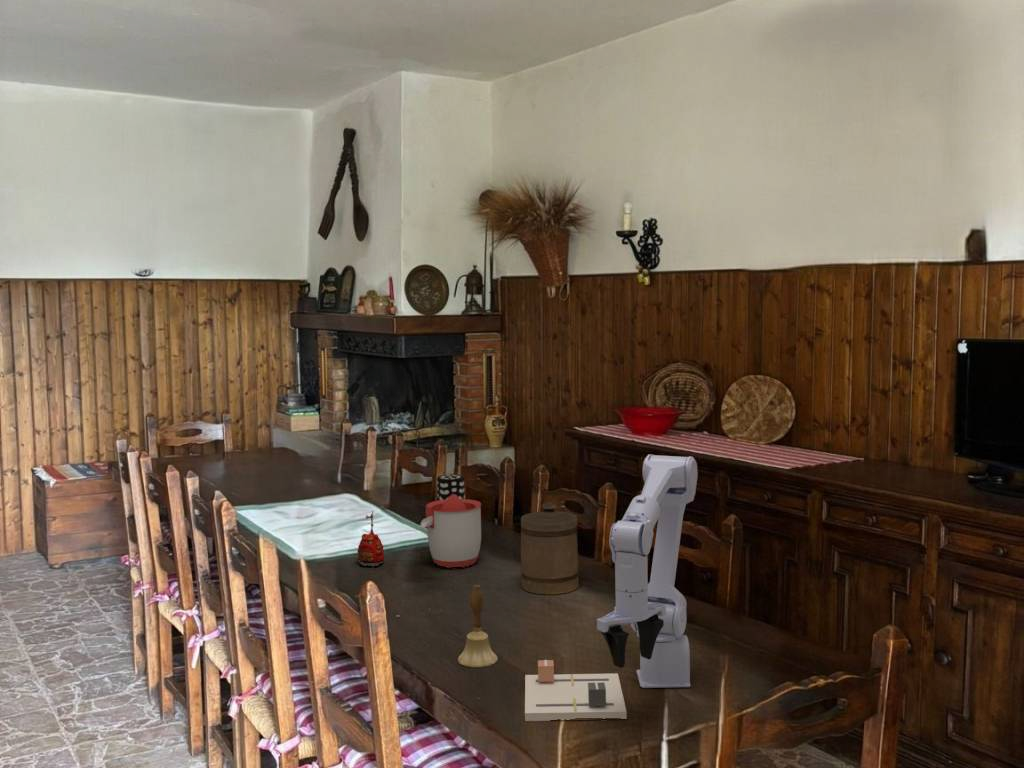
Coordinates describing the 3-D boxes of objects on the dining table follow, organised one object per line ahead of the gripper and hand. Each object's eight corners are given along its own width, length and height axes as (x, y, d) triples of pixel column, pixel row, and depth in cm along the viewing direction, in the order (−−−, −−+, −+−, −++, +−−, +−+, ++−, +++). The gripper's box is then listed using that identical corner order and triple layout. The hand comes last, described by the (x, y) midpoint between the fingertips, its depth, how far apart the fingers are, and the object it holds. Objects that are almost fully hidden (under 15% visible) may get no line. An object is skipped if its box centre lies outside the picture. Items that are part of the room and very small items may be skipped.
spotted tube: (436, 539, 298) (434, 475, 296) (462, 536, 301) (460, 473, 299) (442, 545, 290) (440, 480, 288) (469, 543, 293) (467, 478, 291)
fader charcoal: (604, 698, 175) (604, 682, 174) (605, 705, 172) (605, 688, 171) (588, 698, 175) (587, 682, 174) (589, 705, 172) (588, 689, 171)
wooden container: (579, 578, 255) (578, 496, 253) (577, 595, 240) (576, 509, 238) (523, 577, 256) (521, 496, 254) (518, 595, 241) (516, 509, 239)
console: (617, 680, 187) (617, 672, 187) (626, 719, 170) (626, 710, 170) (525, 682, 187) (525, 674, 187) (525, 721, 171) (524, 712, 170)
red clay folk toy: (354, 567, 270) (351, 515, 268) (364, 560, 276) (362, 509, 275) (378, 569, 268) (376, 516, 266) (389, 562, 274) (387, 510, 273)
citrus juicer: (414, 561, 274) (411, 492, 272) (470, 553, 281) (468, 486, 279) (433, 575, 260) (430, 503, 258) (491, 566, 267) (490, 495, 265)
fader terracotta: (553, 675, 186) (553, 659, 185) (554, 681, 183) (553, 665, 182) (538, 675, 186) (537, 660, 185) (538, 681, 183) (537, 666, 182)
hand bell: (497, 651, 204) (495, 578, 202) (498, 667, 196) (496, 590, 194) (458, 653, 204) (455, 579, 202) (457, 668, 195) (454, 592, 194)
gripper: (646, 575, 178) (647, 646, 180) (585, 590, 170) (586, 664, 172) (673, 584, 172) (674, 657, 174) (611, 600, 164) (612, 676, 166)
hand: (632, 661), depth 172 cm, fingers open, 6 cm apart
